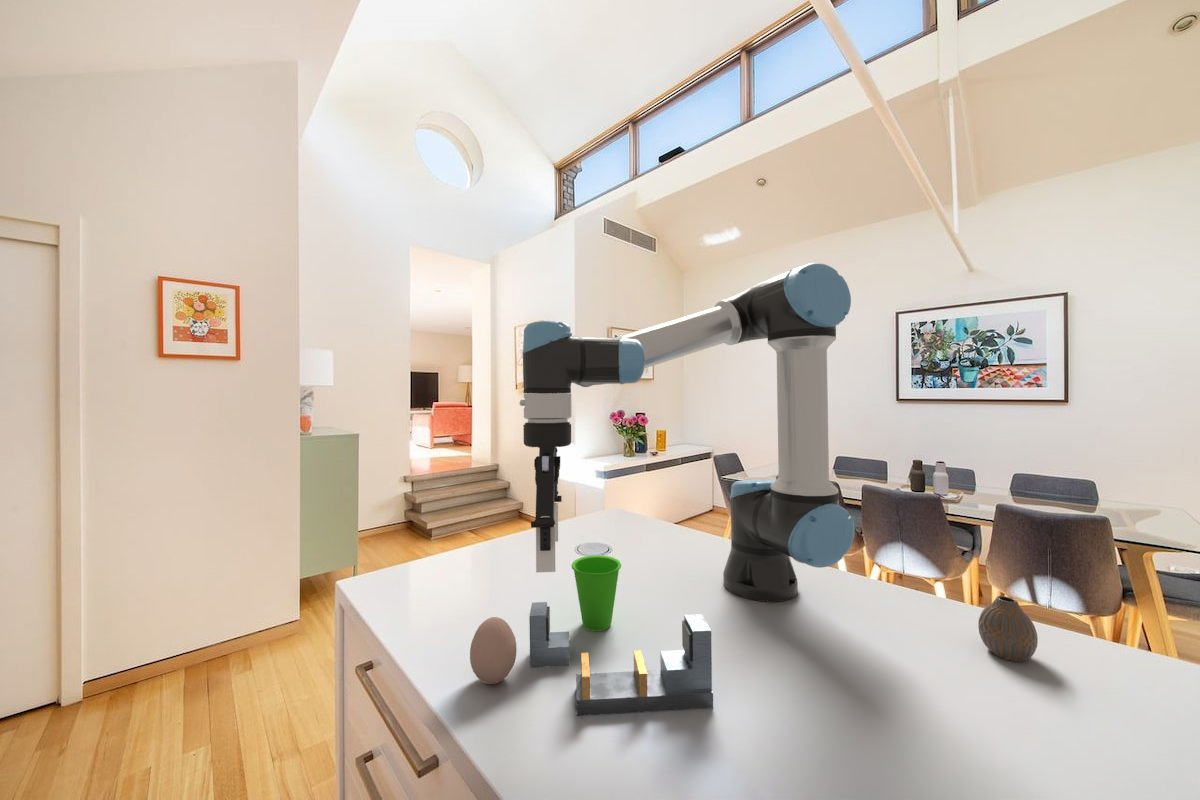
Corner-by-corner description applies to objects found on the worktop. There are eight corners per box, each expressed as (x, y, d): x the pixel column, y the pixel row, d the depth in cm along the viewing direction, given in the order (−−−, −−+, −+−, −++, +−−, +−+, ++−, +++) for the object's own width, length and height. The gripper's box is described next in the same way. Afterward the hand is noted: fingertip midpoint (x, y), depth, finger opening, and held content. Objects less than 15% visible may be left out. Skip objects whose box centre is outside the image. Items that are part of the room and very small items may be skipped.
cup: (617, 639, 76) (616, 575, 76) (566, 634, 78) (565, 571, 78) (625, 614, 85) (624, 556, 85) (578, 610, 87) (578, 553, 87)
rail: (701, 681, 64) (700, 612, 64) (713, 708, 59) (712, 632, 59) (576, 688, 63) (575, 617, 63) (576, 715, 58) (576, 638, 58)
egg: (480, 666, 69) (479, 607, 69) (522, 668, 68) (521, 608, 68) (462, 694, 62) (461, 629, 62) (508, 697, 62) (508, 631, 62)
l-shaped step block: (569, 649, 73) (568, 601, 73) (569, 666, 69) (568, 614, 69) (532, 651, 73) (531, 602, 73) (530, 668, 68) (529, 616, 68)
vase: (1025, 672, 66) (1025, 613, 66) (970, 649, 72) (969, 595, 72) (1046, 659, 69) (1045, 602, 69) (990, 638, 75) (990, 586, 75)
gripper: (530, 417, 83) (531, 532, 83) (513, 425, 58) (514, 588, 58) (571, 417, 83) (571, 530, 83) (571, 425, 59) (572, 586, 59)
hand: (548, 555), depth 71 cm, fingers open, 13 cm apart
